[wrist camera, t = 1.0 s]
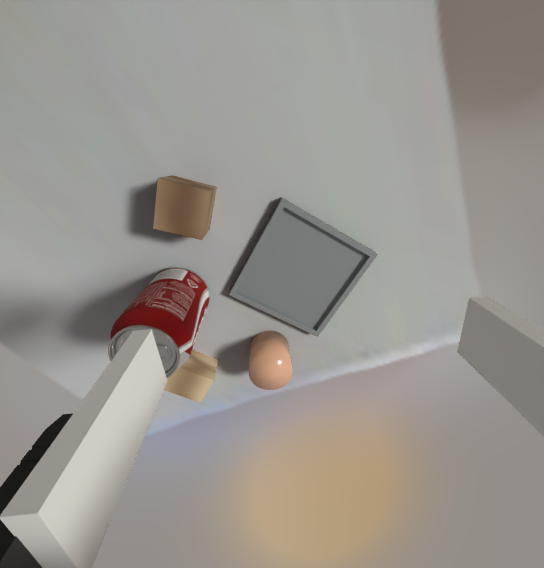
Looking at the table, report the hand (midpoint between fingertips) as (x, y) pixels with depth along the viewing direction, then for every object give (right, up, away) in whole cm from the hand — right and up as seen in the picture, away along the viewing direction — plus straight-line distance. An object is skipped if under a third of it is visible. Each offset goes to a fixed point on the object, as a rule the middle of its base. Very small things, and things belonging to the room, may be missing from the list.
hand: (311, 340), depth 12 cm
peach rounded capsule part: (-2, -6, +25) cm, 26 cm away
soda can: (-12, +1, +22) cm, 25 cm away
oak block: (-12, -8, +26) cm, 30 cm away
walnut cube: (-10, +11, +18) cm, 23 cm away
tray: (+2, +4, +21) cm, 22 cm away
